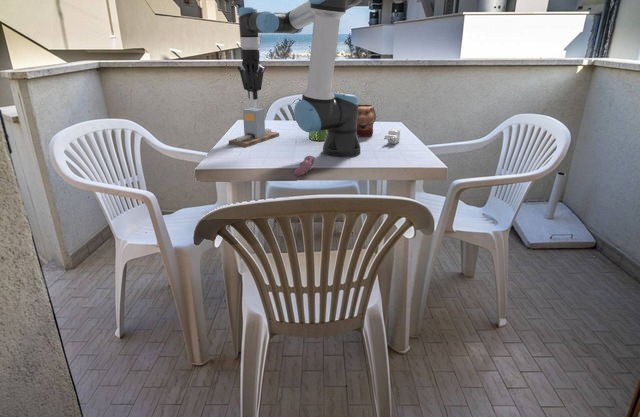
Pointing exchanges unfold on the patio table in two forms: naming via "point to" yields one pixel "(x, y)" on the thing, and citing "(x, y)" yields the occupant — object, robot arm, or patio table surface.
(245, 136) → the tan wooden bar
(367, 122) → the decorative planter
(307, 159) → the pink mottled elongated lump
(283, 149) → the patio table surface
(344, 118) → the robot arm
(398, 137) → the power adapter
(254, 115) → the module
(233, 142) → the board
